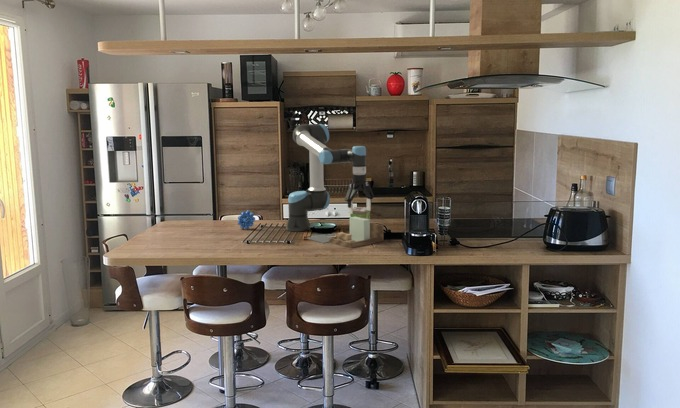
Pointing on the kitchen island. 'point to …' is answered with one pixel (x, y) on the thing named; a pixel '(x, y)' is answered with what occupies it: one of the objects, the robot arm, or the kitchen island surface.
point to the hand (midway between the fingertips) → (359, 211)
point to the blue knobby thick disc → (246, 219)
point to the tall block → (359, 228)
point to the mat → (320, 238)
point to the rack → (375, 236)
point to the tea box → (360, 212)
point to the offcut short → (344, 236)
